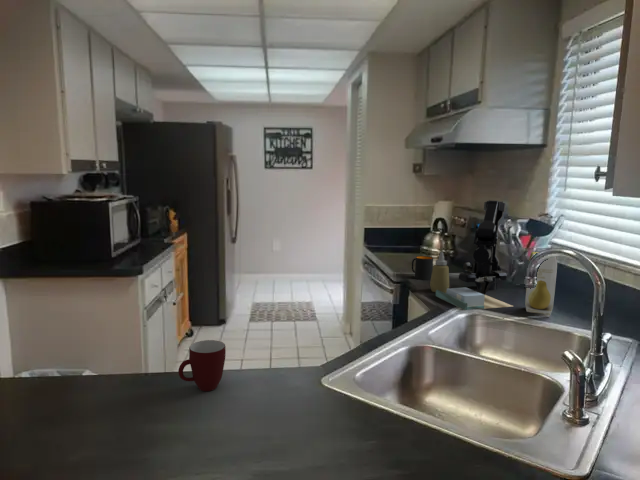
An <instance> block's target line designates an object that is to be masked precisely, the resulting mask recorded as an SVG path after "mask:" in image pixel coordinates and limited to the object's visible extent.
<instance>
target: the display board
mask: <svg viewBox="0 0 640 480" xmlns="http://www.w3.org/2000/svg"><path fill="white" fill-rule="evenodd" d="M446 293H447V292H446ZM446 293H444V292H442V291H439V290H436V292H435V297H437V298H439V299H441V300H442V301H445V302H447V303H449V304H451V305H453V306H456V307H457V308H459V309H461V310H463V311H470V310H482V309H483V310H485V309H486V310H487V309H497V308H510V307H513V308H514V305H512V304H509V303H507V302H504V301H502V300H499V299H496V298H494V297H492V296H489V295H487V294H485V298H484V305H478V306H467V303H466V302H464V301H461V300H459V299H457V298H455V297H453V296H450V295H448V294H446Z"/></svg>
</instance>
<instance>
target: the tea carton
mask: <svg viewBox="0 0 640 480" xmlns="http://www.w3.org/2000/svg"><path fill="white" fill-rule="evenodd" d="M446 294H448V295H450V296H453V297H455V298H457V299H459V300H461V301H464V302H466V303H467V306H478V305H484V298H485V295H486V294H485V295H484V294H481V293H479V292H478V291H476V290H474V289H471V288H468V287H451V288H450V287H449V288H447V292H446Z"/></svg>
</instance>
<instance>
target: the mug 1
mask: <svg viewBox="0 0 640 480" xmlns="http://www.w3.org/2000/svg"><path fill="white" fill-rule="evenodd" d="M188 351H189V354H188V359H185V360H183V361H182V362H181V363H180V365H179V367H178V370H177V371H178V376H179V378H180V379H181V380H182V381H185V382H194V383H195V384H196V386H197V388H198V389H199V391H201V392H202V391H203V392H211V391H214V390H216V389H217V387H218V386H219V383H220V382H221V380H222V377H223V373H224V368H225V361H226V351H227V350H226V344H225V343H224V342H222V341H220V340H213V339H206V340H200V341H199V340H198V341H196V342H194V343H192V344H190V346H189V350H188ZM188 365H189V366H190V369H191V374H192V377H191V376H190V377H187V376H185V375H184V369H185V368H186V366H188Z"/></svg>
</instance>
